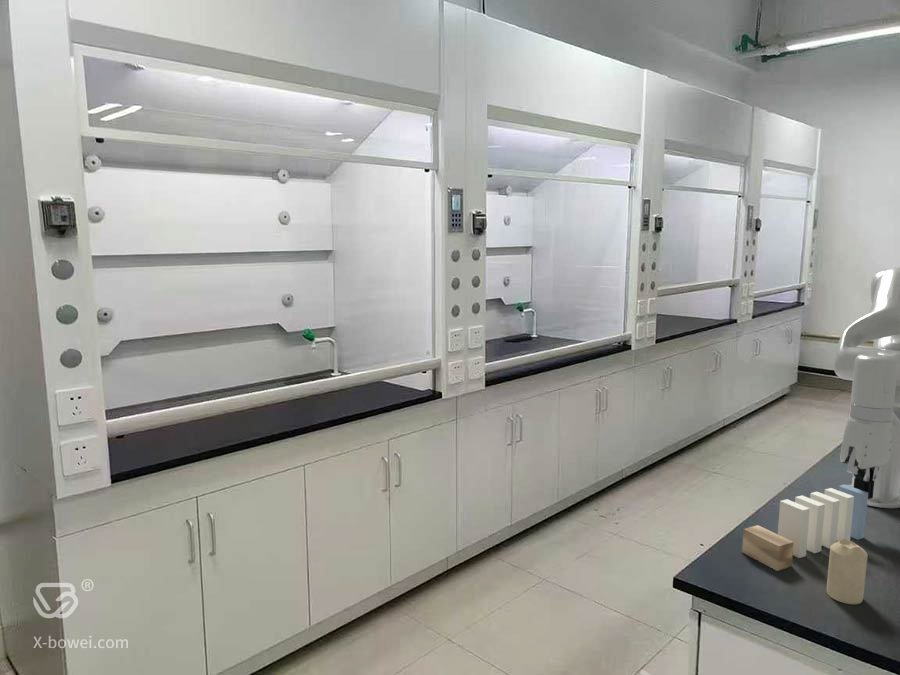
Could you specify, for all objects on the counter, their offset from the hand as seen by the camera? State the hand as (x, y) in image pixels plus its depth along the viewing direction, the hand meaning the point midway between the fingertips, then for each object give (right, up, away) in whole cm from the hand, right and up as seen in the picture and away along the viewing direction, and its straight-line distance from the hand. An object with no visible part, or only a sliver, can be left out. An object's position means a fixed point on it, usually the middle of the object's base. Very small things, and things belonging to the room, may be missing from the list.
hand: (862, 496), depth 135 cm
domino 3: (-11, -9, -4) cm, 15 cm away
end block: (-26, -10, -10) cm, 29 cm away
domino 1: (-19, -9, -7) cm, 23 cm away
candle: (-18, -12, -23) cm, 32 cm away
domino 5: (-3, -8, 0) cm, 8 cm away
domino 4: (-7, -8, -2) cm, 11 cm away
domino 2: (-15, -9, -6) cm, 18 cm away
